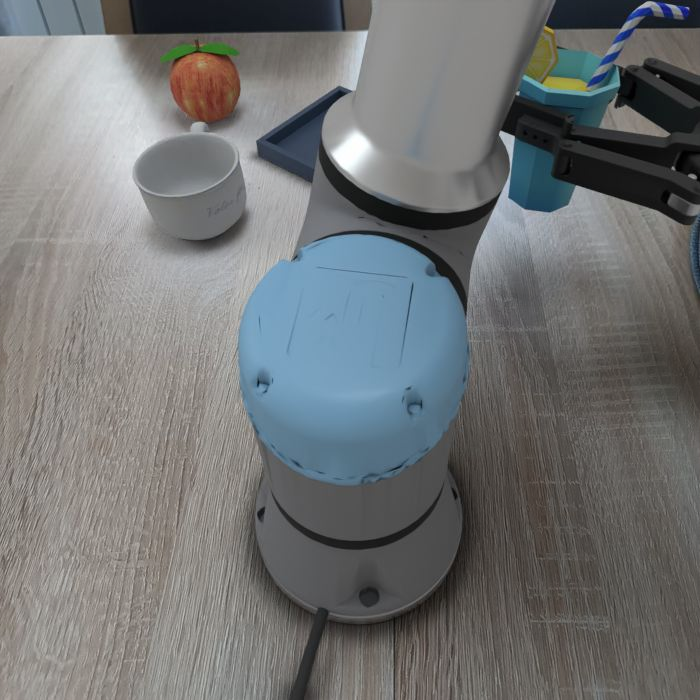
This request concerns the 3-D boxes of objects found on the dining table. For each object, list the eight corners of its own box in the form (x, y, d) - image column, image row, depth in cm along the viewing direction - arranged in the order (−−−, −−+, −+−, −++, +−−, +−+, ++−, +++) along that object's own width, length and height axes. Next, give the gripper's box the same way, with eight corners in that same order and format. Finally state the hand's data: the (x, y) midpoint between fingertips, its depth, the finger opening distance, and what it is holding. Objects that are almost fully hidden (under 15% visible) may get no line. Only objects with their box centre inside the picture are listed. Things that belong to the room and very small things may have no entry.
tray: (372, 212, 72) (372, 197, 71) (257, 155, 79) (255, 140, 78) (451, 146, 80) (452, 130, 78) (339, 100, 87) (339, 85, 85)
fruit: (243, 133, 82) (229, 56, 75) (168, 134, 83) (147, 57, 75) (251, 96, 88) (239, 21, 80) (180, 97, 88) (162, 22, 80)
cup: (606, 161, 59) (664, -21, 48) (647, 211, 54) (722, 19, 43) (456, 176, 57) (480, -9, 46) (483, 229, 52) (517, 34, 41)
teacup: (233, 260, 68) (219, 198, 62) (135, 248, 69) (112, 186, 63) (270, 179, 76) (261, 117, 70) (182, 170, 78) (166, 108, 72)
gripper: (747, 328, 40) (435, 185, 49) (841, 167, 49) (565, 73, 59) (812, 233, 34) (444, 92, 43) (904, 72, 43) (587, -15, 53)
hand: (514, 81), depth 51 cm, fingers closed on cup, 7 cm apart
